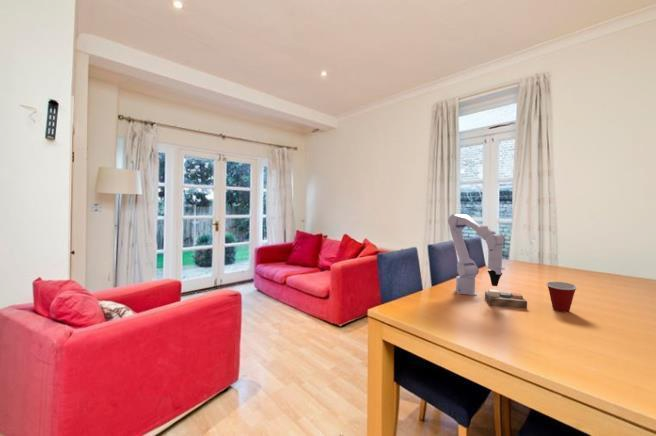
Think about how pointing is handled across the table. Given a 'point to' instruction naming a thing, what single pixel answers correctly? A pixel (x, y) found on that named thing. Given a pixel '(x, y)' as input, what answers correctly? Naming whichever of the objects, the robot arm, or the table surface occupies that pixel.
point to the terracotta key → (516, 295)
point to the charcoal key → (505, 295)
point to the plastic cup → (561, 295)
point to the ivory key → (493, 293)
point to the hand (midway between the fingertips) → (494, 285)
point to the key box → (506, 302)
